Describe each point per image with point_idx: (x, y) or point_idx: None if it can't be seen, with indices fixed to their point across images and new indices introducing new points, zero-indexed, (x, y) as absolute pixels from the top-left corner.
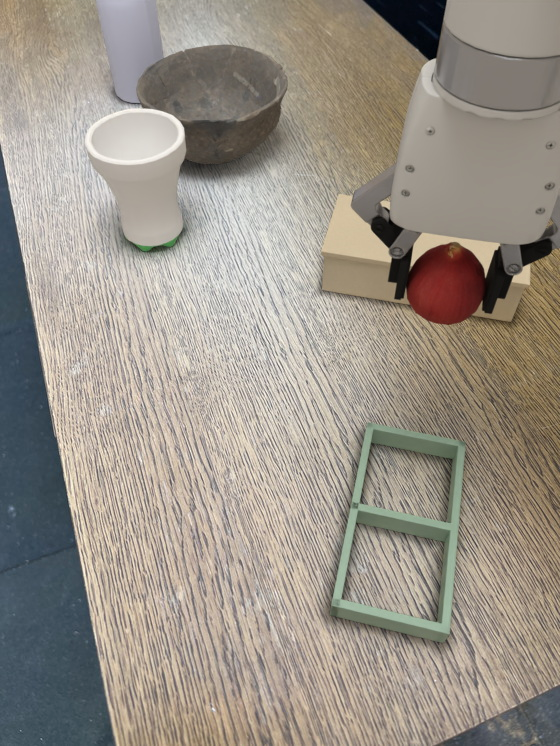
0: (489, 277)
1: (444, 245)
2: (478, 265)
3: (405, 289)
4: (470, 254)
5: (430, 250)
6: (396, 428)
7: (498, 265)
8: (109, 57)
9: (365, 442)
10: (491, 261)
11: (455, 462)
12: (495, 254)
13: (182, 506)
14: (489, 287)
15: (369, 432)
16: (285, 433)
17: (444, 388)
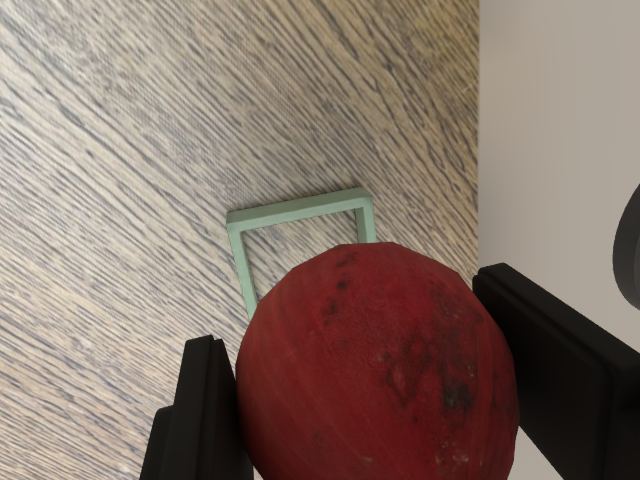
0: (530, 380)
1: (375, 476)
2: (514, 437)
3: (253, 474)
4: (498, 474)
5: (308, 466)
6: (271, 216)
7: (611, 478)
8: None
9: (237, 258)
10: (548, 340)
11: (362, 226)
12: (598, 408)
13: (55, 402)
14: (532, 429)
15: (236, 240)
16: (114, 257)
17: (313, 71)
